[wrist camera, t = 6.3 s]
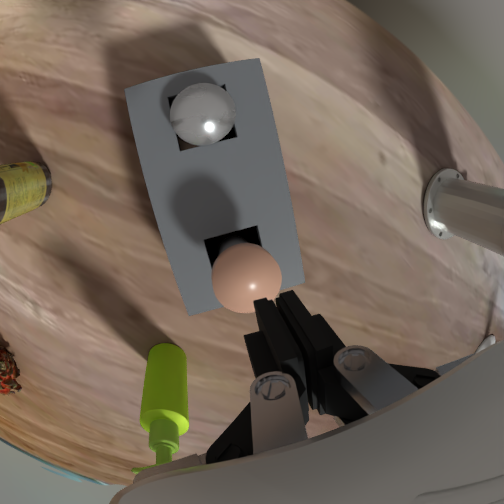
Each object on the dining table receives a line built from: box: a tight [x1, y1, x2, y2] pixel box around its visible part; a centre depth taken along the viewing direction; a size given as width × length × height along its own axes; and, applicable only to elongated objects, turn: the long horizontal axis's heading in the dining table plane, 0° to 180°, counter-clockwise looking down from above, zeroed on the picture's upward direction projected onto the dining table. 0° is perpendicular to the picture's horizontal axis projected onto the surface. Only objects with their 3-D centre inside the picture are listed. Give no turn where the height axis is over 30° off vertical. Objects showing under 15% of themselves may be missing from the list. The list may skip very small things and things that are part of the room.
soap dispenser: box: [131, 343, 189, 474], centre depth 31 cm, size 6×7×20 cm
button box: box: [124, 58, 305, 316], centre depth 29 cm, size 12×22×10 cm, turn 12°
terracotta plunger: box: [211, 235, 282, 313], centre depth 25 cm, size 5×5×8 cm
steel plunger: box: [170, 83, 236, 146], centre depth 24 cm, size 5×5×8 cm
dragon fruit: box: [0, 346, 22, 395], centre depth 31 cm, size 8×8×12 cm
